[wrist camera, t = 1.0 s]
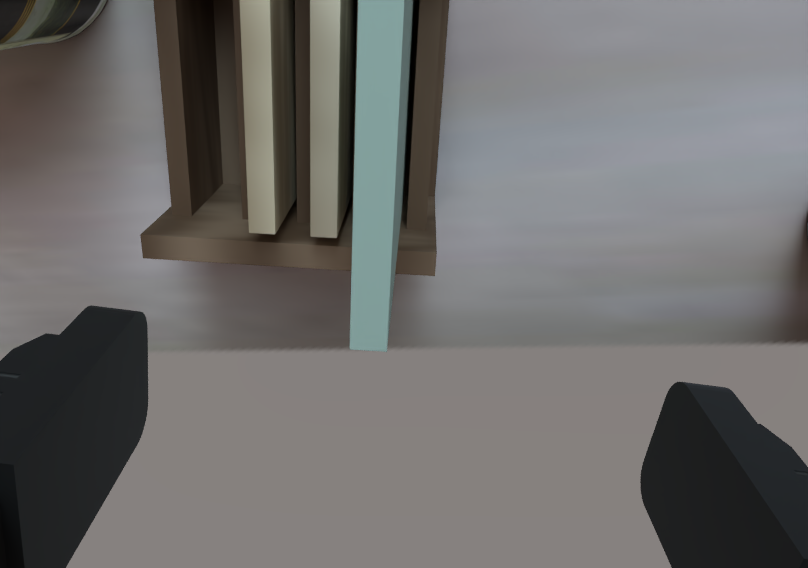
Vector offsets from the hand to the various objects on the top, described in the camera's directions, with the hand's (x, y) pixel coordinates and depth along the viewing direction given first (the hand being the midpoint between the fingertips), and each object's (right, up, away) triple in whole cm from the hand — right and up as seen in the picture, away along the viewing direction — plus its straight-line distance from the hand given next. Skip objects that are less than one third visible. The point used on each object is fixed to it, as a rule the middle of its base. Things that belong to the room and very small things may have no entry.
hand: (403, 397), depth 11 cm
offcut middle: (-3, +13, +28) cm, 31 cm away
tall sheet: (0, +13, +28) cm, 31 cm away
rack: (-5, +13, +29) cm, 32 cm away
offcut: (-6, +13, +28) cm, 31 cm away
